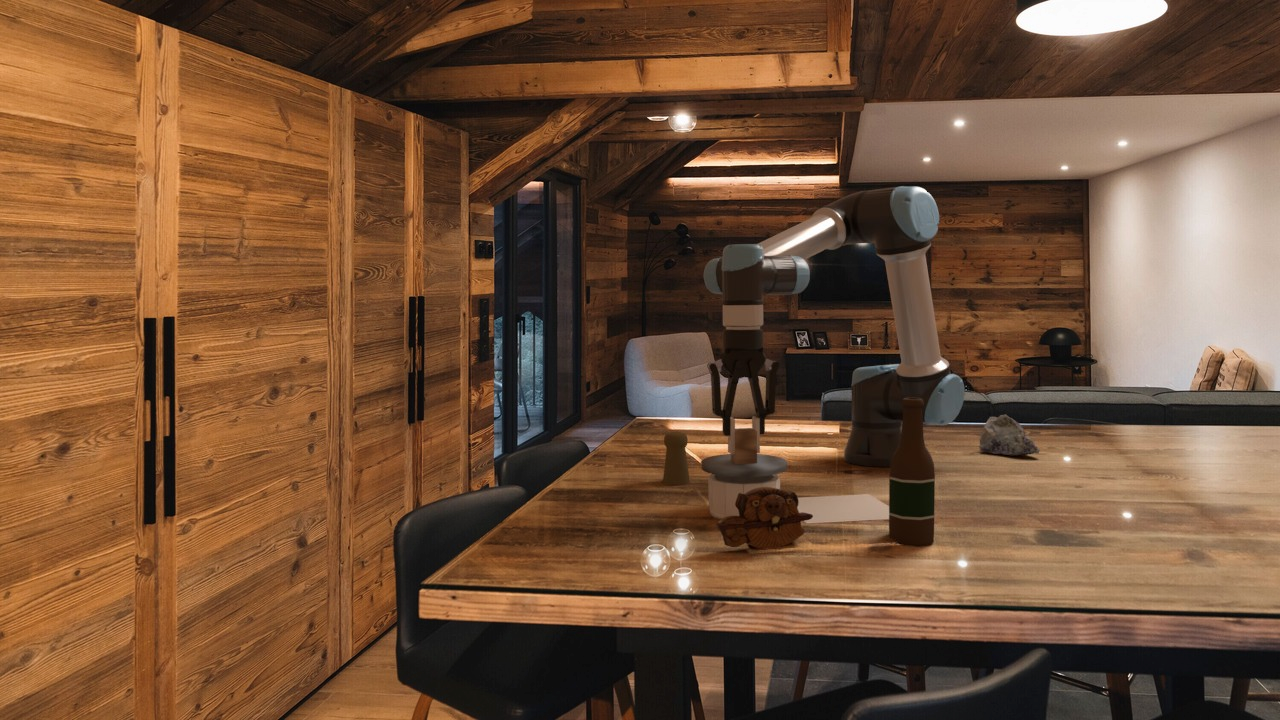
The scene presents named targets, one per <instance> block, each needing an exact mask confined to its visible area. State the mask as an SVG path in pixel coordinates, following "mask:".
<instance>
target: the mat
mask: <svg viewBox="0 0 1280 720" xmlns="http://www.w3.org/2000/svg"><path fill="white" fill-rule="evenodd" d="M797 498H798V507H797V508H798V511H799V513H801V512H804V513H808V514H812V515H813V517H812V518H811V519H810V520H805V521H803V522H804V523H805V524H807V525H809V524H827V523H828V524H829V523H845V522H846V523H847V522H864V521H867V522H868V521H869V522H870V521H884V520H886V521H887V520H888V521H889V504H888V505H887V504H886V503H884V502H883V501H881V500H880V499H878V498H876V497H874V496H873V495H871V494H869V493H868V494H867V493H864V494H863V493H862V494H845V495H826V496H825V495H824V496H821V495H820V496H805V497H804V496H803V497H797Z"/></svg>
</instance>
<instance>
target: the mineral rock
mask: <svg viewBox="0 0 1280 720" xmlns="http://www.w3.org/2000/svg"><path fill="white" fill-rule="evenodd" d="M1025 432H1026V431H1025V430H1024V428H1023V426H1022V425H1021V423H1020V422H1017V421H1016V420H1014V419H1013V418H1012V417H1009V416H1008V415H1007V414H1001V415H999V416H998V417H996V416H989V418H988V419H987V421H986V422H985V424H984V425H983V428H982V431H981V436H980V439H979V445H978V446H979V447H978V448H979V451H980V452H982V453H987V454H994V455H1000V454H1001V455H1004V456H1005V455H1006V456H1010V457H1011V456H1012V457H1016V456H1028V455H1033V454H1037V455H1038V454H1040V451H1041V450H1040V448H1039V447H1038V446H1037V445H1036V444H1035V442H1034V440H1032V439H1031V437H1029V436H1028V435H1027V434H1026V433H1025Z"/></svg>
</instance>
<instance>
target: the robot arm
mask: <svg viewBox="0 0 1280 720" xmlns="http://www.w3.org/2000/svg"><path fill="white" fill-rule="evenodd" d="M939 224H940V213H939V208H938V206H937V202H936V200H935V199H934V197H933V196H932V194H930V192H927V190H926V189H925V188H923V187H920V186H904V185H902V186H894V187H893V186H892V187H888V188H887V187H886V188H878V189H872V190H861V191H857V192H853V193H851V194H848V195H846V196H843V197H841V198H839V199H837V200H835V201H833V202H831V203H829V204H827V205H824V206H823V207H820V208H818V209H817V210H815V212H814V213H813V214H812V215H811V217H810V218H808V219H807V220H804V221H802V222H800V223H798V224H796V225H794V226H792V227H789V228H787V229H786V230H783V231H781V232H779V233H777V234H775V235H774V236H771V237H769V238H767V239H765V240H763V241H761V242H759V243H753V244H752V243H745V244H744V243H742V244H741V243H740V244H728V245H726V246H724V248H723V250H722V256H720V257H717V258H711V260H709V261H708V262H707V264H706V265H705V267H704V271H703V280H704V281H703V282H704V284H705V287H706V288H707V290H708V291H709V292H711V293H712V294H715V295H722V326H723V327H725V329H724V330H723V331H722V354H721V356H720V359H717V360H716V361H713V362H711V361H710V362H708V363H707V368H708V369H707V370H708V372H709V374H710V383H711V384H710V385H711V386H710V388H711V389H710V390H711V406H712V407H711V409H712V414H713V415H715V416H717V417H720V418H721V419H722V420H721V421H722V434H723V436H725V437H727V452H728V454H735V429H736V419H735V418H734V417H732V412H733V408H734V402H735V397H736V394H737V393H736V392H737V388H738V383H739V380H740V379H742V378H747V380H748V382H749V387H750V391H751V396H752V402H753V406H754V411H755V416H752V417H751V428H752V429H754V430H756V431H757V454H761V444H760V443H761V439H760V438H761V435H765V431H766V430H765V429H766V420H765V419H766V418H767V417H768V416H770V415H772V414H773V415H774V414H775V411H776V389H777V388H776V384H777V383H776V381H777V373H778V370H779V368H780V363H779V361H776V360H771V359H769V358H767V356H766V354H765V352H764V330H763V329H762V328H761V327H762V326H763V325H764V296H769V295H770V296H778V295H780V296H781V295H783V296H784V295H785V296H791V295H795V294H800V293H802V292H804V290H805V289H806V288H807V287H808V285H809V282H810V279H811V278H810V275H811V273H810V272H811V271H810V266H809V265H808V263H807V261H806V260H807V259H810V258H811V257H813V256H815V255H817V254H819V253H821V252H823V251H824V250H830V251H831V250H837V249H839V248H841V247H843V246H846V245H857V244H874V248H875V252H876V256H878V257H880V258H881V259H882V260H883V261H884V264H885V270H886V276H887V281H888V288H889V293H890V295H889V296H890V300H891V306H892V312H893V313H892V314H893V319H894V324H895V330H896V337H897V338H896V339H897V343H898V349H899V350H898V351H899V355H900V356H899V357H900V359H901V360H900V361H901V362H900V363H893V364H883V365H881V364H880V365H873V366H862V367H858V368H856V369H854V370H853V372H852V377H851V378H852V379H851V385H850V386H851V431H850V433H849V436H848V439H847V442H846V446H845V448H844V451H843V452H844V455H843V456H844V462H846V463H849V464H852V465H857V466H864V467H878V468H879V467H881V468H882V467H890V465H891V461H892V458H893V456H894V453H895V452H896V450H897V449H898V447H899V446H900V442H901V435H902V421H903V406H902V401H903V399H904V398H908V397H916V398H921V399H923V402H924V406H923V407H922V416H923V425H927V426H947V425H949V424H950V423H953V421H955V419H956V418H957V416H958V415H959V413H960V412H961V409H962V407H963V404H964V400H965V385H964V381H963V379H962V378H961V377H960V376H959V375H957V374H955V373H951V366H950V362H949V361H948V360H947V359H945V358H944V357H942V355H941V349H940V344H939V335H938V330H937V323H936V322H937V321H936V316H935V309H934V303H933V302H934V301H933V296H932V290H931V283H930V277H929V276H930V275H929V271H928V265H927V257H926V253H927V252H928V250H929V249H930V247H931V246H932V241H931V239H933V238H934V237H935V236H936V235H937V233H938V229H939V227H938V225H939ZM722 366H723V367H724V369H725V370H726V371H727V372H728V377H727V385H726V386H727V387H726V390H725V391H726V392H725V396H724V401H723V406H722V396H721V395H722V393H721V390H722V389H721V376H720V373H721V372H722ZM763 366H764V369H765V371H766V373H765V374H766V375H765V399H764V400H763V396H762V392H761V391H762V390H761V386H760V377H759V374H758V373H759V372H760V370H761V369H762V367H763ZM763 401H765V402H763ZM764 403H765V405H764Z"/></svg>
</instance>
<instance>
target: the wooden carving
mask: <svg viewBox="0 0 1280 720" xmlns="http://www.w3.org/2000/svg"><path fill="white" fill-rule="evenodd" d="M798 498H799V497H798V495H797V493H796V492H795V491H792V490H787V491H786V490H784V489H781V488H780V489H776V488H772V487H759V488H755V489H752V490H750V491H748V492H747V493H745V494H742V493H739V494H738V497H737V499H736V503H735V505H736V507H737V509H738V510H739V516H727V517H723V519H722V520H721V519H719V521H717V522H716V528H717V529H718V530H719V532H720V534H721V536H722V539H723V542H724V545H725V546H727V547H731V548H738V547H741V546H742V545H745V544H747V545H748V546H752V547H754V548H756V549H772V548H781V547H784V546H787V545H789V544H791V543H793V542H795V541H797V540H798V539H800V538H801V537H802V536H803V535H804V534H805V533H806V530H805V529H804V528H803V527H802V523H801V522H804V521H805V520H810V519H811V518H812V517H813V515H812V514H808V513H804V512H801V513H799V511H798V508H797V507H798Z"/></svg>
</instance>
